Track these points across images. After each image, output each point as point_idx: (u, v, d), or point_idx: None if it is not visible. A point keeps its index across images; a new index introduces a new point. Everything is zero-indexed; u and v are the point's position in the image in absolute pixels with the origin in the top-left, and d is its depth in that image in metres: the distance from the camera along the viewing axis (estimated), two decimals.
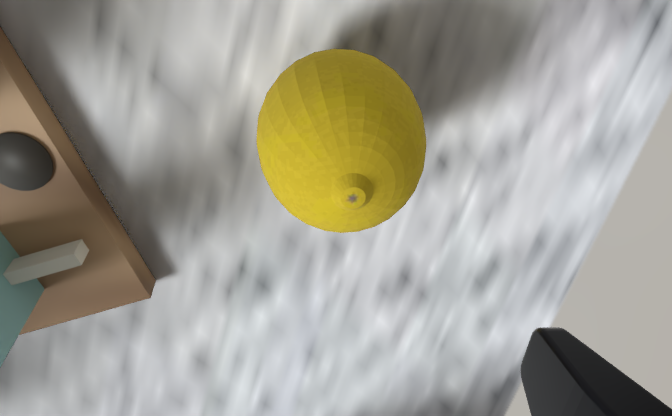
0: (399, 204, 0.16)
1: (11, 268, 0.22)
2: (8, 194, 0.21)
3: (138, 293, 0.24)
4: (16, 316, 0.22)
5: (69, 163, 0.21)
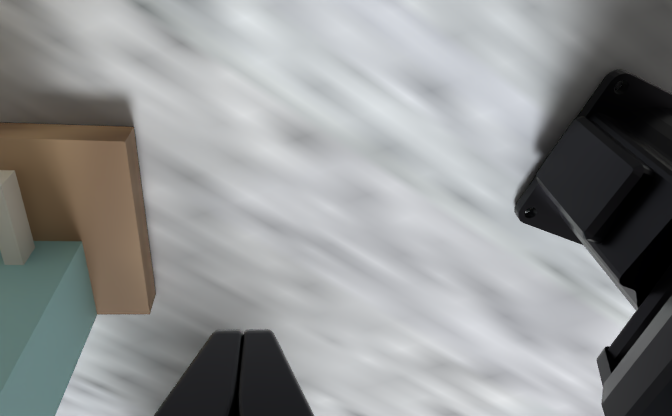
0: None
1: None
2: None
3: (114, 151, 0.18)
4: (43, 281, 0.18)
5: None
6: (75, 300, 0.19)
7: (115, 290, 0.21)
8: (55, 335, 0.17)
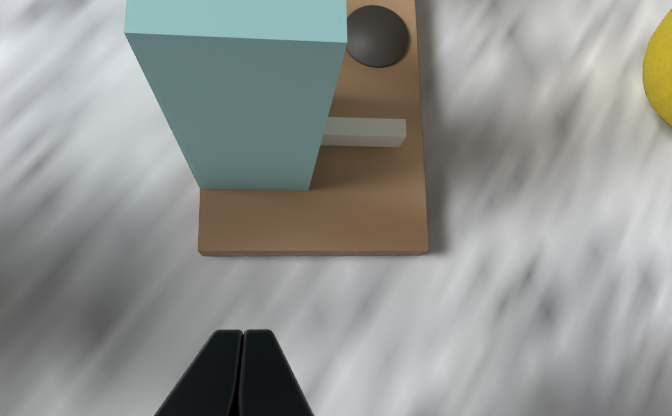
0: None
1: None
2: (343, 64, 0.19)
3: (416, 238, 0.18)
4: None
5: None
6: (262, 177, 0.16)
7: (237, 215, 0.18)
8: (269, 158, 0.15)
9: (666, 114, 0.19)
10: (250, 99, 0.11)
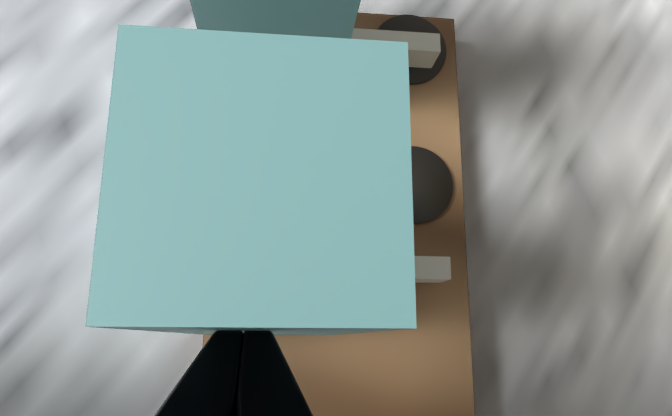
0: None
1: None
2: None
3: None
4: None
5: None
6: None
7: None
8: (288, 333, 0.12)
9: None
10: None
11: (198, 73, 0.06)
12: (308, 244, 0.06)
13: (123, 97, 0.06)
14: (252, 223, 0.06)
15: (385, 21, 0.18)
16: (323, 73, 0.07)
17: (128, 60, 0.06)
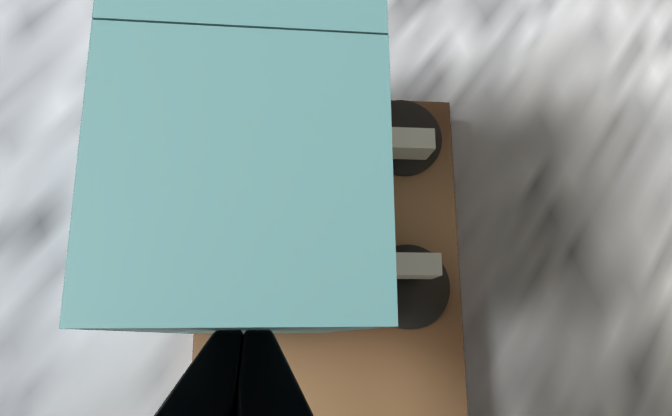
0: None
1: None
2: None
3: None
4: None
5: None
6: None
7: None
8: None
9: None
10: None
11: (174, 68, 0.06)
12: (286, 242, 0.06)
13: (97, 94, 0.06)
14: (229, 220, 0.06)
15: None
16: (302, 67, 0.06)
17: (102, 56, 0.06)
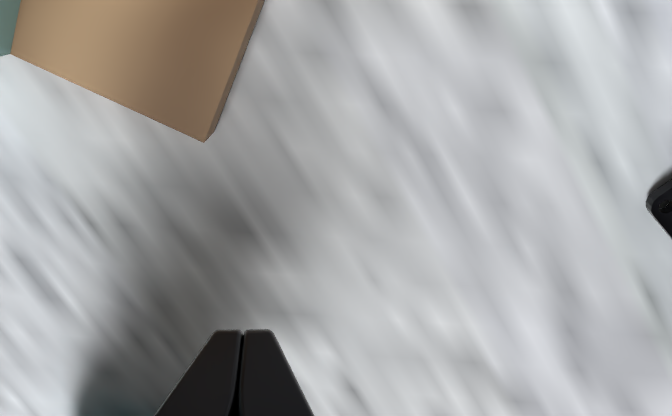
0: None
1: None
2: None
3: None
4: None
5: None
6: None
7: (182, 94, 0.17)
8: None
9: None
10: None
11: None
12: None
13: None
14: None
15: None
16: None
17: None
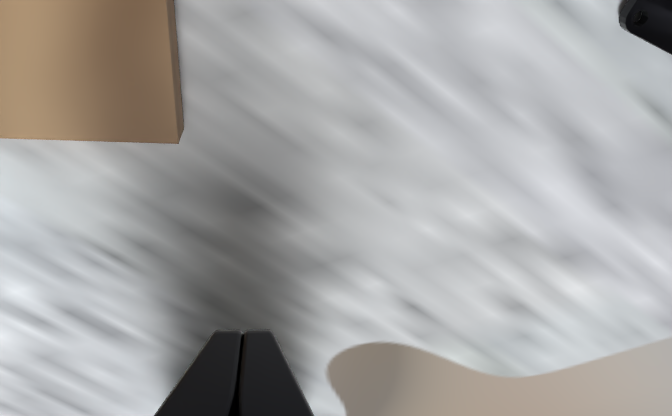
0: None
1: None
2: None
3: None
4: None
5: None
6: None
7: (138, 107, 0.17)
8: None
9: None
10: None
11: None
12: None
13: None
14: None
15: None
16: None
17: None
